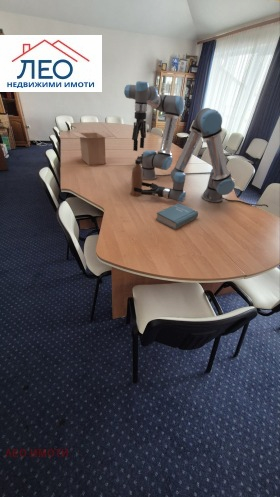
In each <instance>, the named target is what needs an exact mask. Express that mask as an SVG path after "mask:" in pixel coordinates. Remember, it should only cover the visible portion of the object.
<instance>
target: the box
mask: <svg viewBox="0 0 280 497" xmlns="http://www.w3.org/2000/svg"><path fill="white" fill-rule="evenodd" d="M70 133H71V134H72V135H74V136H75V137H77V138H79V144H80V153H81V160H83V162H85V163H86V165H87V166H95V165H97V166H98V165H106V163H107V162H106V158H107V157H106V138H113V137H114V136H113V135H111V134H109V133H108V132H105V131H98V132H96V131H95V130H92V129H91V130H77V132H76V131H70Z"/></svg>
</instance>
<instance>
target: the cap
mask: <svg viewBox="0 0 280 497" xmlns="http://www.w3.org/2000/svg"><path fill="white" fill-rule="evenodd" d="M134 161H135V162H134V163H135V164H134V165H136V164H140V165H142V163H141V160H139V159H137V158H136V159H135V160H134Z"/></svg>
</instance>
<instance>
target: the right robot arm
mask: <svg viewBox="0 0 280 497" xmlns="http://www.w3.org/2000/svg"><path fill="white" fill-rule="evenodd" d="M222 125H223V117H222V115H221V113H220V112H219V111H218V110H216V109H213V108H211V107H204V108H202V109H201V110H199V111H198V113H197V114H196V116H195V118H194V120H193V123H192V125H191V127H190V133H189V135H188V137H187V139H186V141H185V143H184V146H183V147H182V150H181V151H180V154H179V157H178V159H177V161H176V163H175V165H174V168H173V169H172V170H171V171H170V174H171V175H170V178H171V180H172V188H171V187H165V186H162V185H158V184H156V183H154V182H151V183H148V182H145V181H142V187H146V188H150V189H143V188H142V189H139V188H135V187H134V191H135V192H139V193H141V195H140V196H153V197H154V196H156V195H157V197H159V198H163V199H166V200H172V201H175V202H180V203H182V202H184V201H185V199H186V193H187V192H186V191H184V187H185V182H186V177H187V176H186V175H187V174H184V173H185V170H186V168H187V166H188V164H189V162H190V160H191V158H192V156H193V154H194V152H195V150H196V148H197V146H198V144H199V142H200V140H201V138H202V140H205V142H206V146H207V151H208V154H209V159H210V163H211V167H212V169H211V171H210V172H211V173H209V178H208V181H207V185H206V188H205V189H204V192H203V193H202V196H201V198H202V199H203V200H205V202H209V203H222V201H223V200H225V201H227V202H237V203H241V204H245V205H250V206H257V207H267V208H269V205H268V204H265V203H264V204H263V203H262V204H256V203H248V202H245V201H242V200H237V199H228V198H225V197H223V196H226V195H229V194H230V193H232V192H233V190H234V189H235V187H236V185H235V184H236V183H235V181H234V180H233V177H232V173H231V171H230V170H229V169H228V166H227V161H226V157H225V156H226V155H225V152H224V146H223V142H222V138H221V137H222V136H221V133H222V132H223V128H222Z"/></svg>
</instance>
